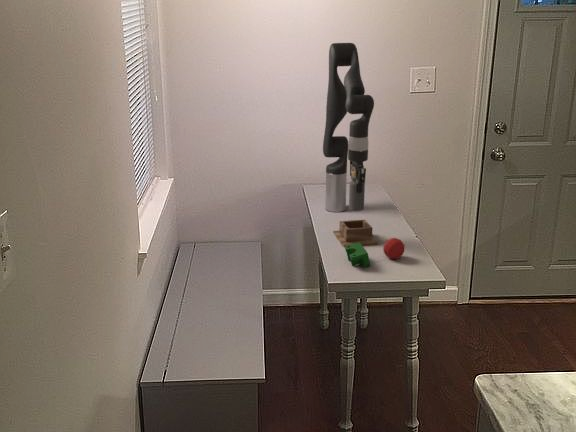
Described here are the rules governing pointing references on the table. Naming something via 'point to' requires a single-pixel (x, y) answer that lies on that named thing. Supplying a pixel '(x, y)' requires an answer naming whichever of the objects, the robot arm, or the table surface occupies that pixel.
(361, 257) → the clamp
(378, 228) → the table surface
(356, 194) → the bottle
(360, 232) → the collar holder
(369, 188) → the table surface
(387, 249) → the tomato
